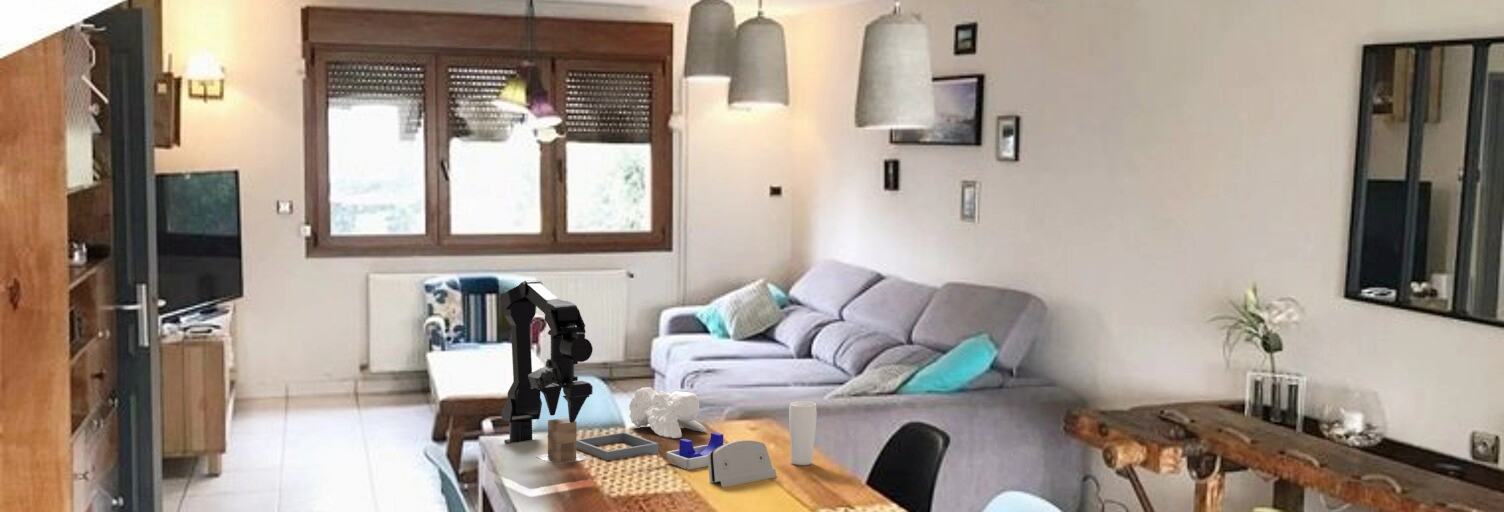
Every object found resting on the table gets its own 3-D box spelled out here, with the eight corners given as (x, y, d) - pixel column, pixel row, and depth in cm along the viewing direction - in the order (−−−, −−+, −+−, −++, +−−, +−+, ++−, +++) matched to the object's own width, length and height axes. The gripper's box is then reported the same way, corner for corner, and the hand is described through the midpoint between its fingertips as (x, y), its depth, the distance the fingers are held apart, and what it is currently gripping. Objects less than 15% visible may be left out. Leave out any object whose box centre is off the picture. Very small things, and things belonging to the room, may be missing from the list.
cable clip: (691, 467, 314) (691, 442, 313) (679, 463, 317) (679, 439, 317) (727, 459, 322) (727, 435, 322) (715, 455, 325) (715, 432, 325)
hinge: (721, 487, 295) (713, 444, 297) (710, 489, 299) (702, 447, 301) (778, 476, 306) (769, 434, 307) (766, 479, 309) (758, 437, 311)
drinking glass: (782, 463, 318) (783, 403, 317) (800, 458, 323) (801, 399, 322) (803, 468, 314) (804, 407, 312) (821, 463, 319) (822, 403, 317)
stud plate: (533, 462, 315) (533, 442, 315) (569, 456, 321) (569, 436, 321) (554, 470, 307) (554, 450, 307) (590, 464, 314) (590, 444, 313)
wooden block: (547, 456, 314) (547, 420, 314) (566, 453, 318) (566, 417, 317) (558, 460, 311) (558, 424, 310) (576, 457, 314) (577, 421, 313)
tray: (573, 453, 324) (574, 439, 324) (624, 445, 334) (624, 432, 333) (606, 466, 312) (606, 452, 312) (658, 457, 322) (658, 443, 322)
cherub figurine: (662, 384, 362) (712, 387, 349) (664, 428, 362) (714, 433, 349) (627, 389, 353) (677, 392, 339) (629, 434, 353) (679, 439, 339)
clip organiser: (665, 461, 317) (665, 451, 317) (720, 452, 328) (720, 442, 328) (687, 469, 310) (687, 459, 310) (743, 459, 321) (743, 449, 321)
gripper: (513, 352, 314) (513, 415, 315) (553, 364, 300) (552, 430, 301) (553, 348, 321) (553, 410, 322) (594, 360, 307) (593, 424, 308)
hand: (562, 418), depth 313 cm, fingers open, 9 cm apart
